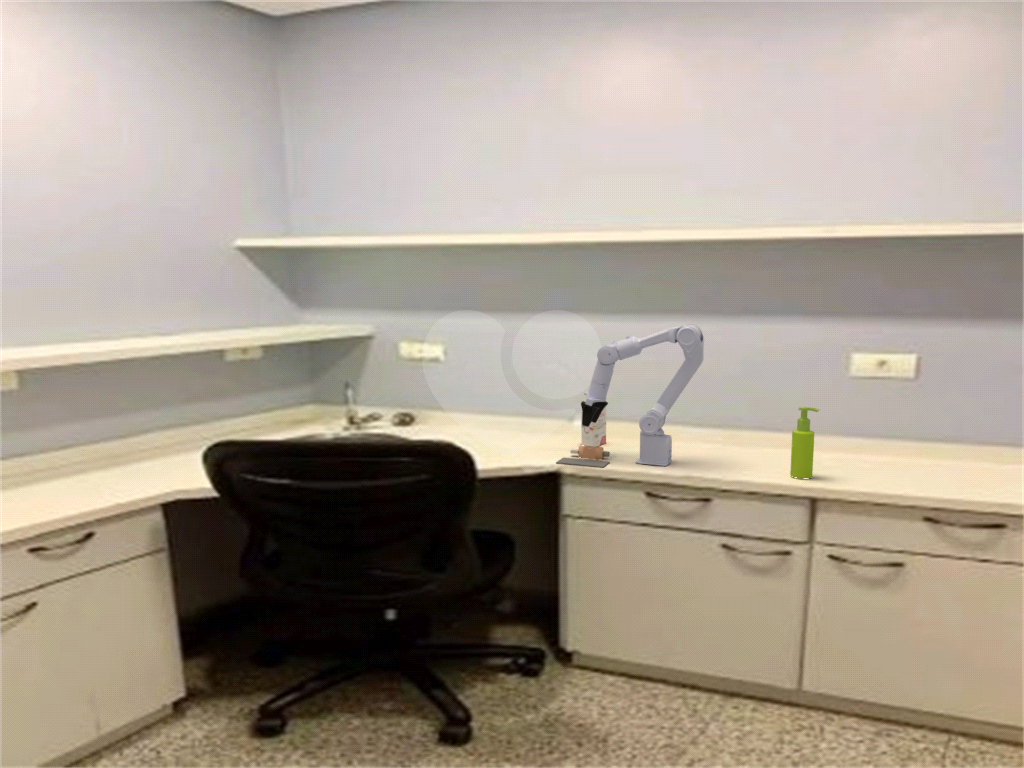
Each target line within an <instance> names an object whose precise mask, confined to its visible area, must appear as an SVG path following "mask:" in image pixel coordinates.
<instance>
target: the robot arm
mask: <svg viewBox="0 0 1024 768" xmlns="http://www.w3.org/2000/svg"><path fill="white" fill-rule="evenodd" d="M666 342H669V343H670V344H671V343H672V344H676V343H678V345H679V346H680V348H681V349H682V351H683V356H684V361H683V362H682V364H681V366H680V367H679V369H678V370H677V371H676V373H675V375H674V376H673V377H672V379H671V380H670V382H669V383H668V385H667V386H666V388H665V389H664V390H663V392H662V393H661V395H660V396H659V398H658V399H657V401H656V402H655V404H654V405H653V406H652V407H651V409H650V410H649V411H647V413H646V414H644V415H642V416H641V417H640V419H639V421H638V423H639V424H638V426H639V429H640V431H639V459H637V460H636V461H635V464H641V465H652V466H662V467H663V466H664V467H667V466H668V465H669V464H670V463H671V462H672V456H673V455H672V451H673V450H672V449H673V447H672V446H673V440H672V439H673V438H672V436H671V435H669V434H665V431H664V429H663V427H664V426H665V424H666V417H667V415H668V414H669V412H670V410H671V409H672V407H673V406H674V405H675V403H676V402H677V400H678V399H679V397H680V396H681V395H682V393H683V391H684V390H685V389H686V387H687V386H688V384H689V382H691V380H692V378H693V377H694V375H695V374H696V373H697V371H698V370H699V369H700V367H701V365H702V364H703V362H704V350H705V348H704V346H705V337H704V334H703V330H702V329H701V328H700V327H699V326H698V325H697V324H693V323H689V324H686V325H684V326H683V325H679V326H674V327H669V328H666V329H664V330H661V331H658V332H655V333H653V334H650V335H647V336H644V337H642V338H639V337H637V336H634V335H633V336H632V335H628V336H627V335H626V336H625V338H623V339H622V340H617V341H615V340H614V341H611V342H610V343H611V344H607V345H606V344H605V345H603V346H601V347H600V348H599V349H598V350H597V352H596V356H597V357H596V358H597V360H596V364H595V366H594V369H593V374H592V378H591V382H590V385H589V388H588V391H584V392H583V395H585V396H586V400H585V401H581V402H580V406H581V412H582V425H584V426H587V427H589V425H590V423H591V422H594V423H596V422H597V420H598V418H599V416H600V414H601V412H602V411H603V409H604V408H605V407H606V408H607V406H608V404H609V402H608V401H607V396H608V392H609V388H610V386H611V385H610V384H611V381H612V377H613V374H614V368H615V364H616V362H618V360H619V361H624V360H625V359H629V358H632V357H635V356H638V355H641V353H642V351H643V349H646V348H649V347H652V346H656V345H659V344H663V343H666Z"/></svg>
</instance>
